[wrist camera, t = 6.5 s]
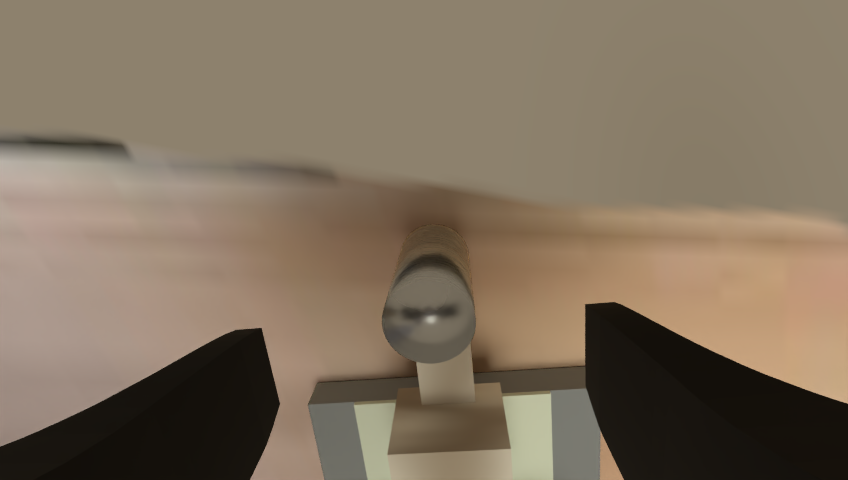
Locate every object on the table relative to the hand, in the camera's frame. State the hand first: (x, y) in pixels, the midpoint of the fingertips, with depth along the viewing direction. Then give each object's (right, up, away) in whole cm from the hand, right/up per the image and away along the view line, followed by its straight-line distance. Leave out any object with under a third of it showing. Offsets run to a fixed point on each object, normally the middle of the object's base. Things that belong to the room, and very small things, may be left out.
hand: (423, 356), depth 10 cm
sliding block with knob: (+1, -2, +8) cm, 8 cm away
